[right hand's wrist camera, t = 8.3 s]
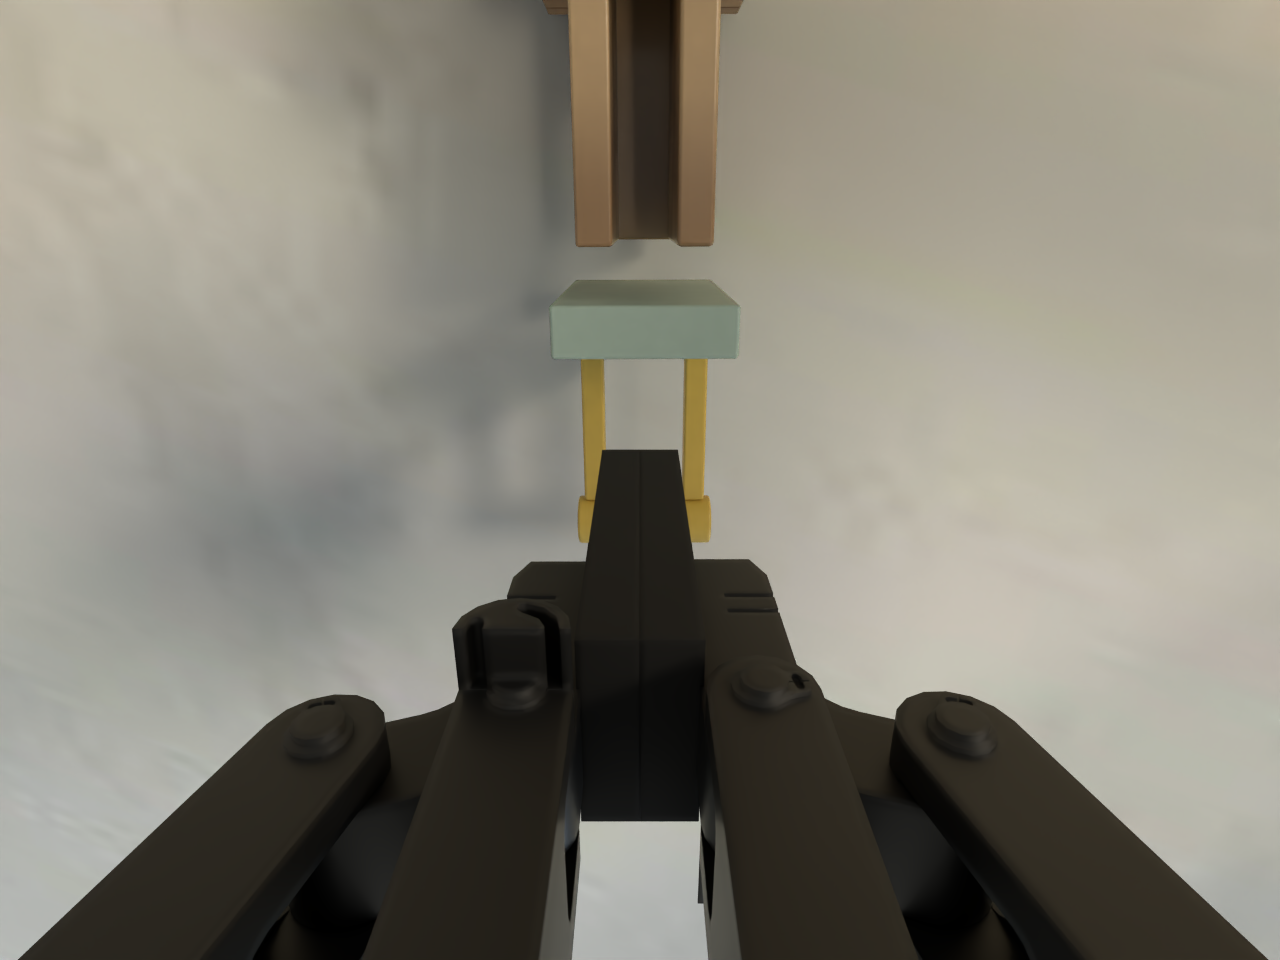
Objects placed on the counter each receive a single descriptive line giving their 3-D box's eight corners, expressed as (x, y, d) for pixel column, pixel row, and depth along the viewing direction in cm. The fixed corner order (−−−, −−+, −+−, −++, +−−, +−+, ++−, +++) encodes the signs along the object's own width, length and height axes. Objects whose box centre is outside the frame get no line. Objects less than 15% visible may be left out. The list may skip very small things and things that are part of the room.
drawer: (705, 495, 25) (728, 594, 18) (582, 496, 25) (561, 594, 18) (736, -537, 16) (799, -1033, 10) (548, -536, 16) (487, -1032, 10)
